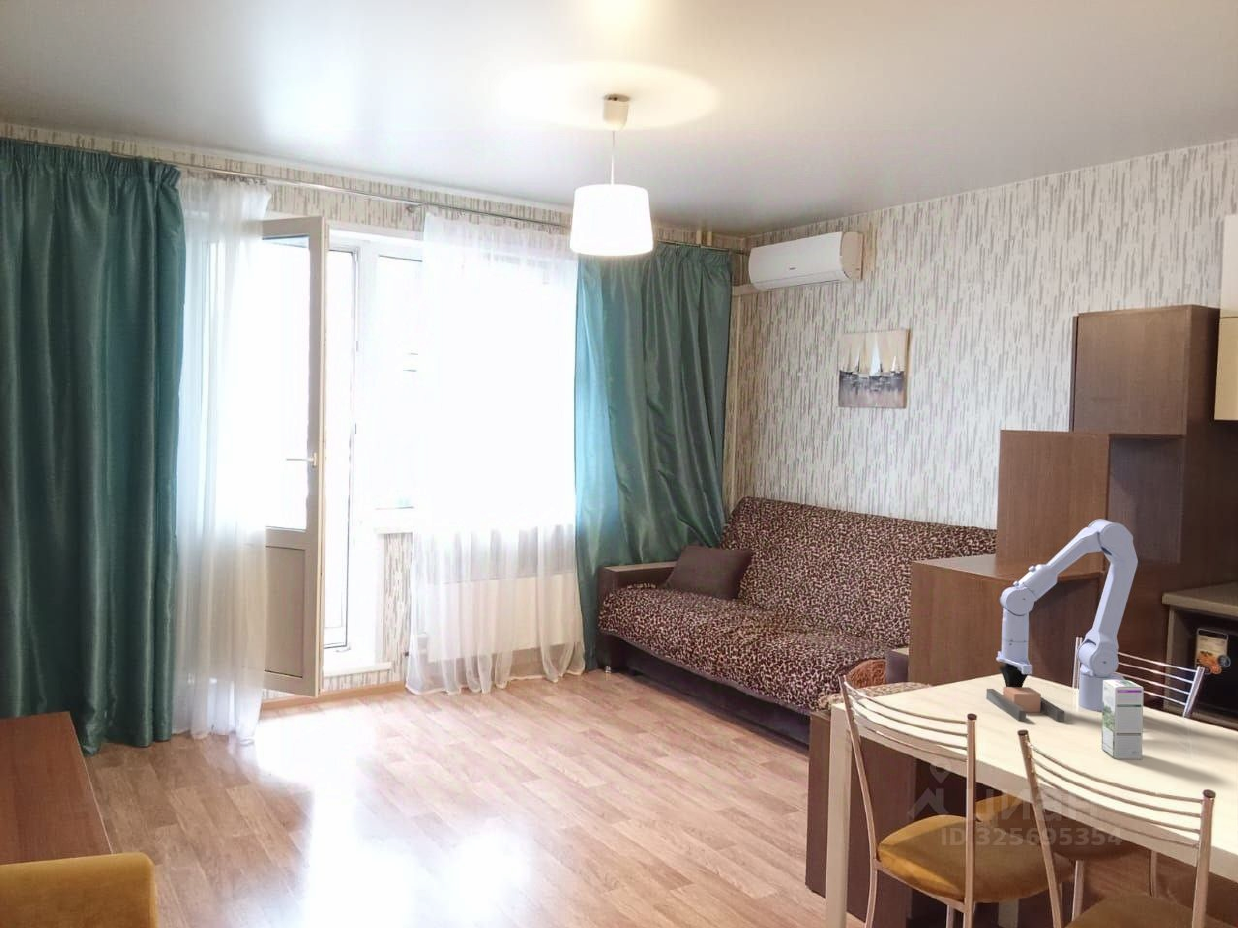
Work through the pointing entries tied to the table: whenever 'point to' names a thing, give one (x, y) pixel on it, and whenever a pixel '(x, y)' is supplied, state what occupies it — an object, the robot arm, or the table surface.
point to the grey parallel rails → (1019, 712)
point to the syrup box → (1122, 719)
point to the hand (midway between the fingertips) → (1013, 697)
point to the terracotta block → (1024, 698)
